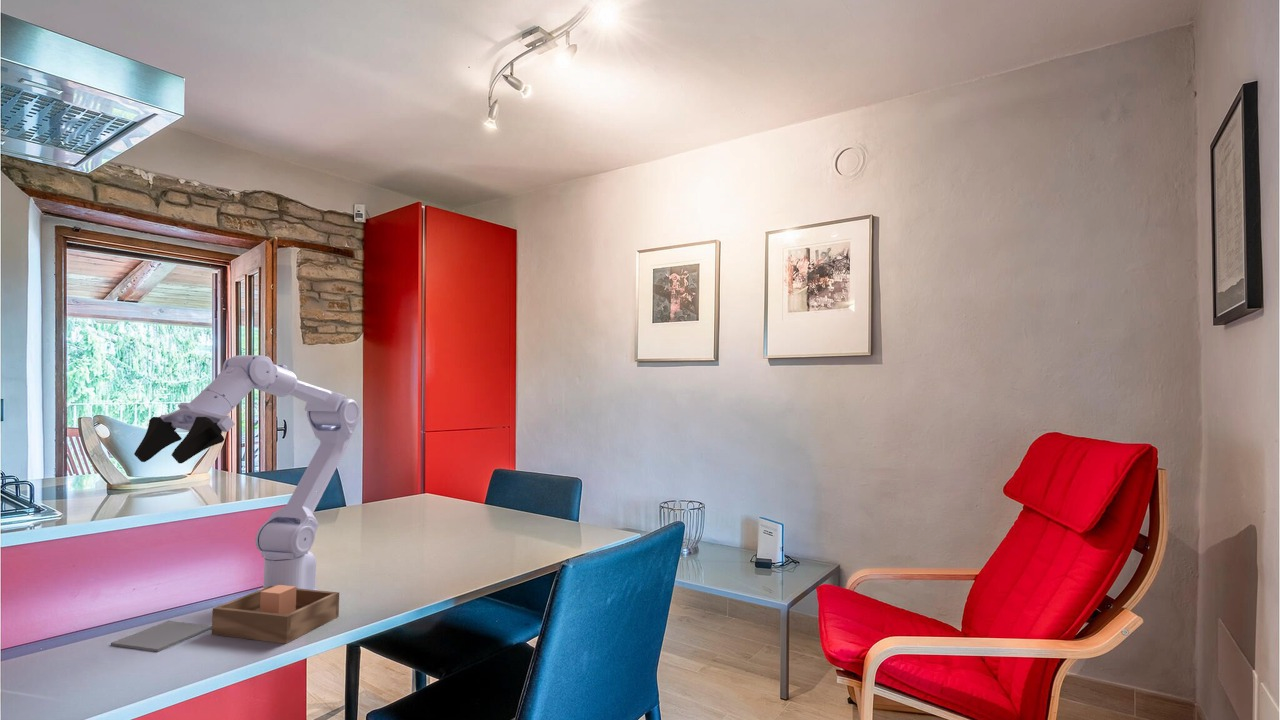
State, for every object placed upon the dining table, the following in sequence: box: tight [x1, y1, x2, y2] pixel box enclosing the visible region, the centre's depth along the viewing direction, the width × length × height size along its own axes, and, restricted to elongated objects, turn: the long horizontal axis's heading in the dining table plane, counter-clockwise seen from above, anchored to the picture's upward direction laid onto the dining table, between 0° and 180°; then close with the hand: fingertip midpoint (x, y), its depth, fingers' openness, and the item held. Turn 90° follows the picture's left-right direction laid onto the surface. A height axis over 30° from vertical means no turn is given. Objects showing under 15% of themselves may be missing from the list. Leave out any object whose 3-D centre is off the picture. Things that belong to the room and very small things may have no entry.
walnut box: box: [211, 586, 340, 644], centre depth 111 cm, size 13×16×4 cm
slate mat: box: [110, 620, 212, 653], centre depth 106 cm, size 10×10×1 cm
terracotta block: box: [260, 585, 296, 615], centre depth 111 cm, size 4×4×5 cm
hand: (157, 458), depth 100 cm, fingers open, 7 cm apart
